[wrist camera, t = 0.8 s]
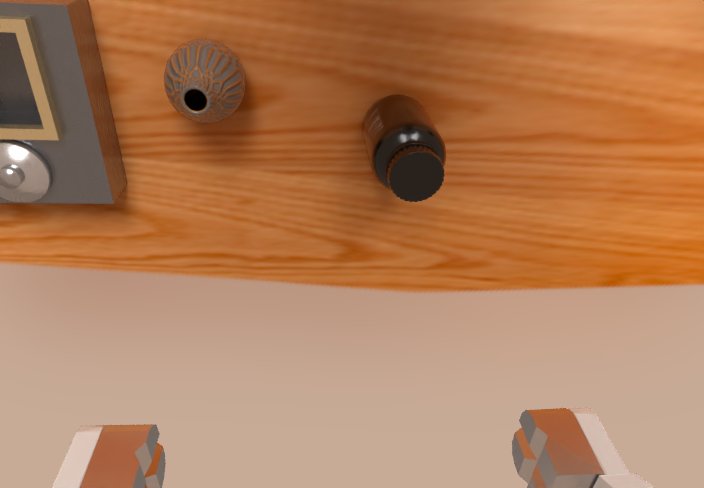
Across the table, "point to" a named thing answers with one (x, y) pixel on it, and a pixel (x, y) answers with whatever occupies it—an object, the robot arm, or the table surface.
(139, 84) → the table surface
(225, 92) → the vase
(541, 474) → the robot arm
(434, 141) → the supplement bottle
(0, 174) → the grey rectangular box
